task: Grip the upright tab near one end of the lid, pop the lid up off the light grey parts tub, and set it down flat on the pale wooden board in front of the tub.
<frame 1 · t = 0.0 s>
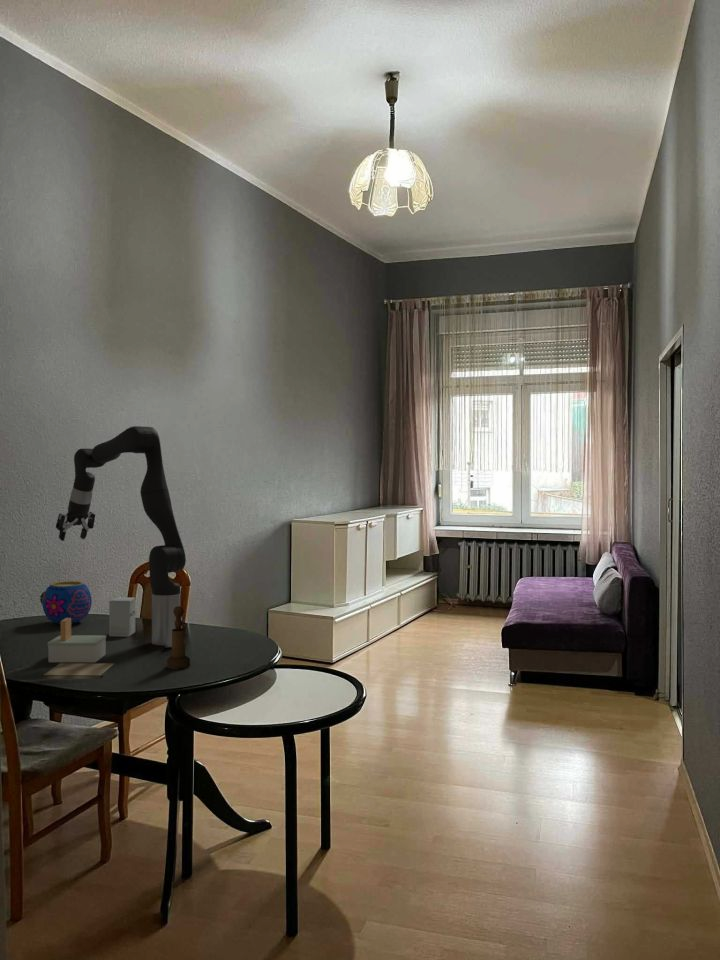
hand: (72, 539, 306), 31 cm above the table, tool tilted 20°, fingers open, 8 cm apart
part a: (87, 658, 248), point 1 cm above the table, touching tub
part b: (67, 658, 248), point 1 cm above the table, touching tub
supplement box: (122, 635, 286), on the table
tub: (77, 661, 248), on the table
lid: (77, 641, 248), point 6 cm above the table, touching tub
ceramic pot: (67, 623, 305), on the table
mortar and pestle: (178, 667, 242), on the table
board: (79, 672, 235), on the table
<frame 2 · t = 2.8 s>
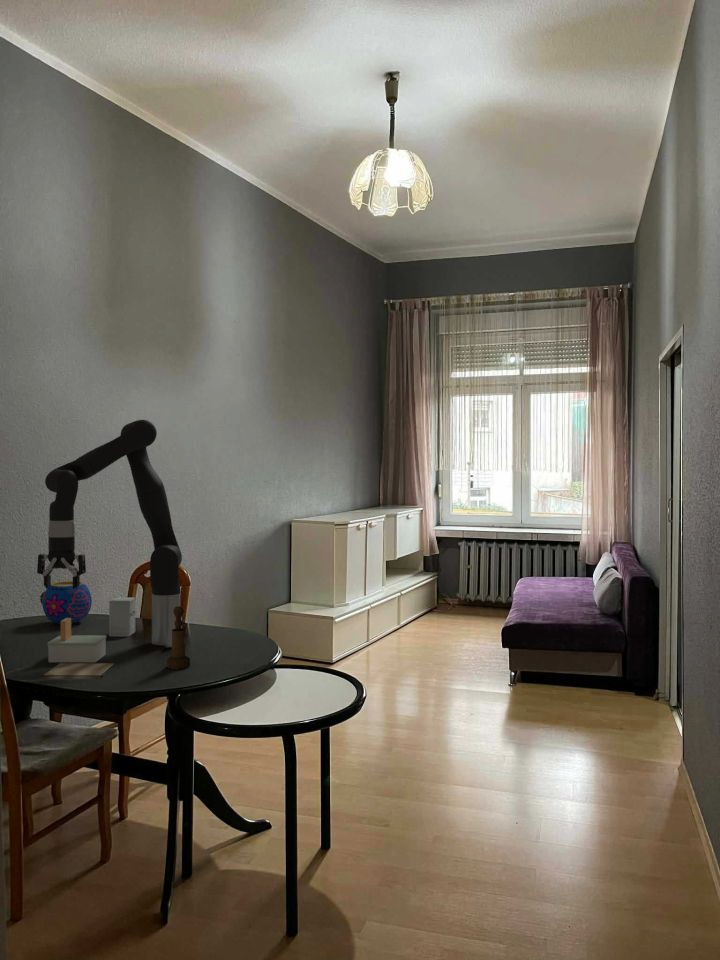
hand: (61, 588, 248), 22 cm above the table, tool pointing down, fingers open, 8 cm apart
nothing on the table moved.
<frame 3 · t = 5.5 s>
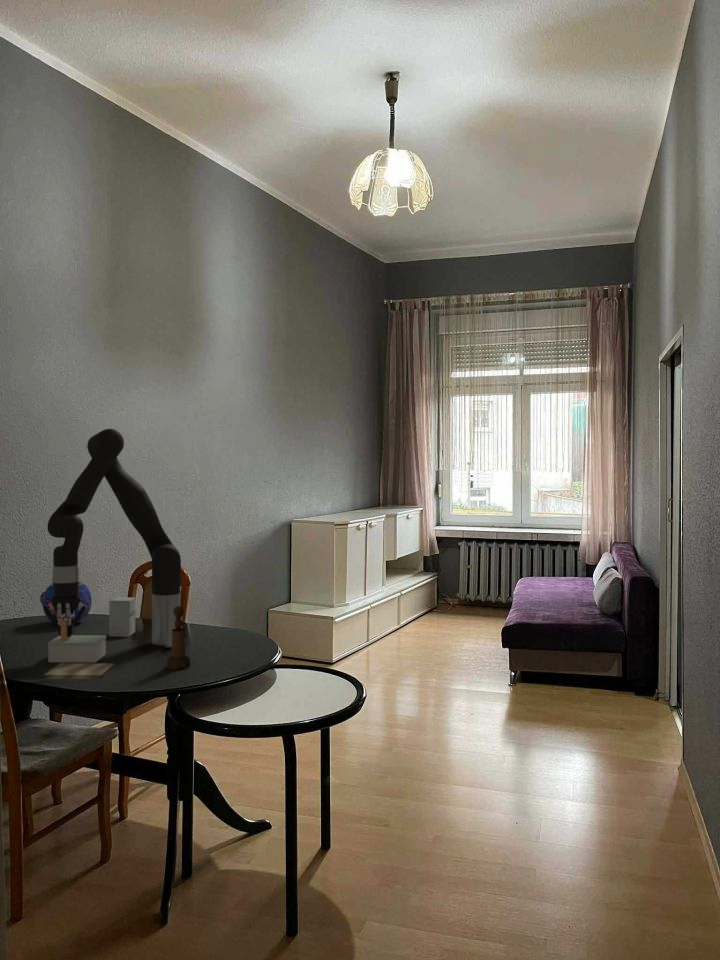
hand: (65, 636, 248), 8 cm above the table, tool pointing down, fingers closed on lid
lid: (77, 641, 248), point 6 cm above the table, touching gripper
everything else where it was.
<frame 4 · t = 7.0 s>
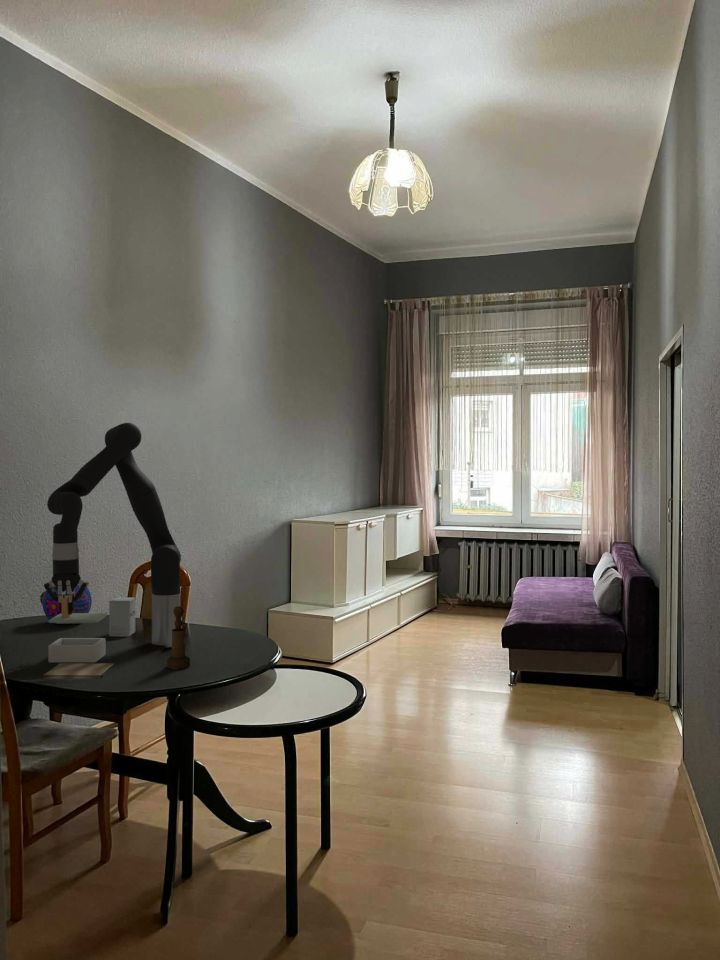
hand: (66, 614, 247), 15 cm above the table, tool pointing down, fingers closed on lid
lid: (78, 619, 248), point 13 cm above the table, touching gripper
everything else where it was.
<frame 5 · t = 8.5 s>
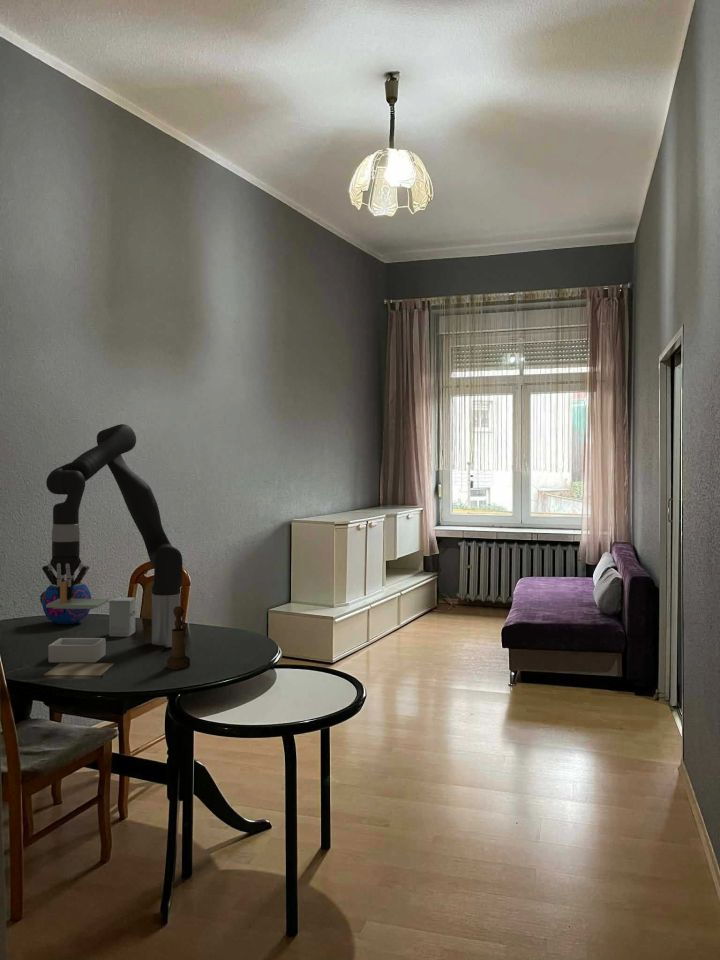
hand: (65, 599, 235), 21 cm above the table, tool pointing down, fingers closed on lid
lid: (77, 604, 235), point 20 cm above the table, touching gripper
everything else where it was.
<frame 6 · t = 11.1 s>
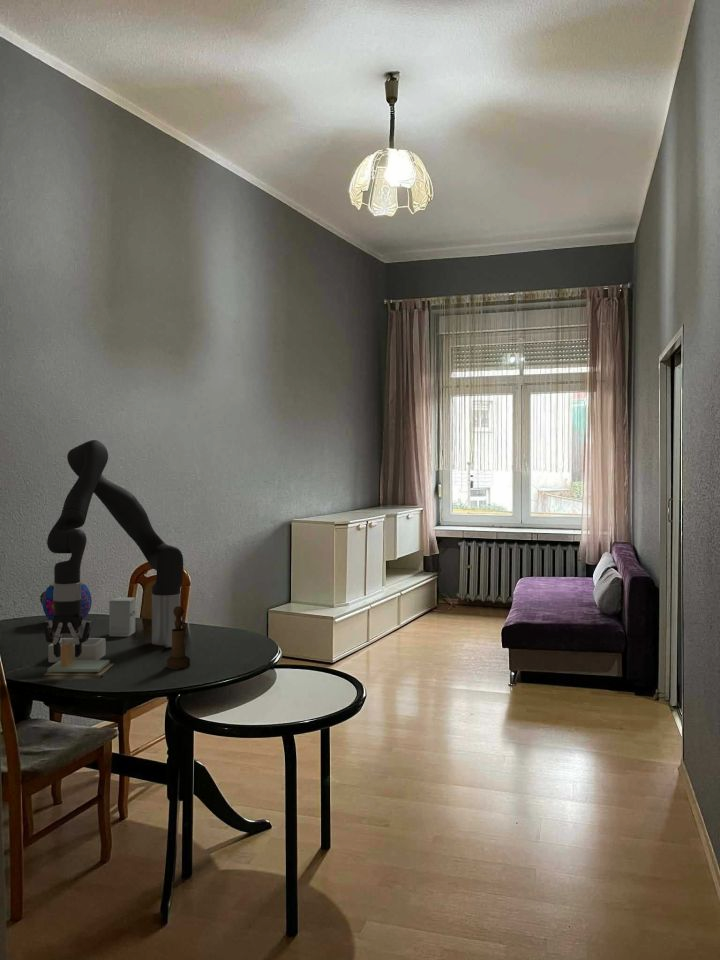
hand: (67, 656, 235), 5 cm above the table, tool pointing down, fingers open, 5 cm apart
lid: (79, 667, 235), point 2 cm above the table, touching board
everything else where it was.
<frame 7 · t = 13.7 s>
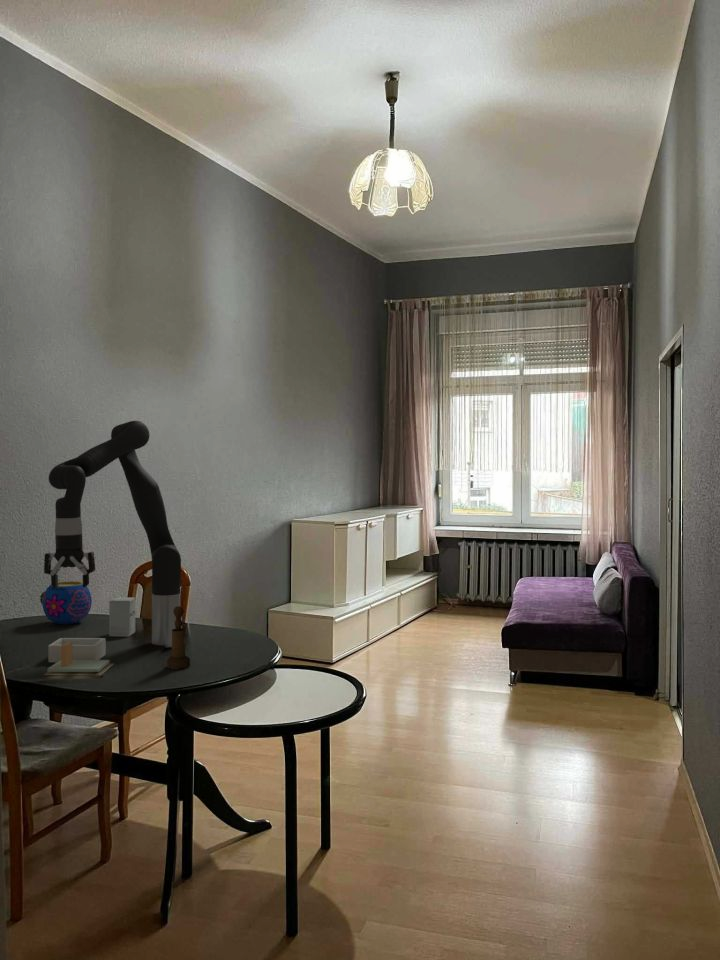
hand: (70, 587, 241), 24 cm above the table, tool pointing down, fingers open, 8 cm apart
nothing on the table moved.
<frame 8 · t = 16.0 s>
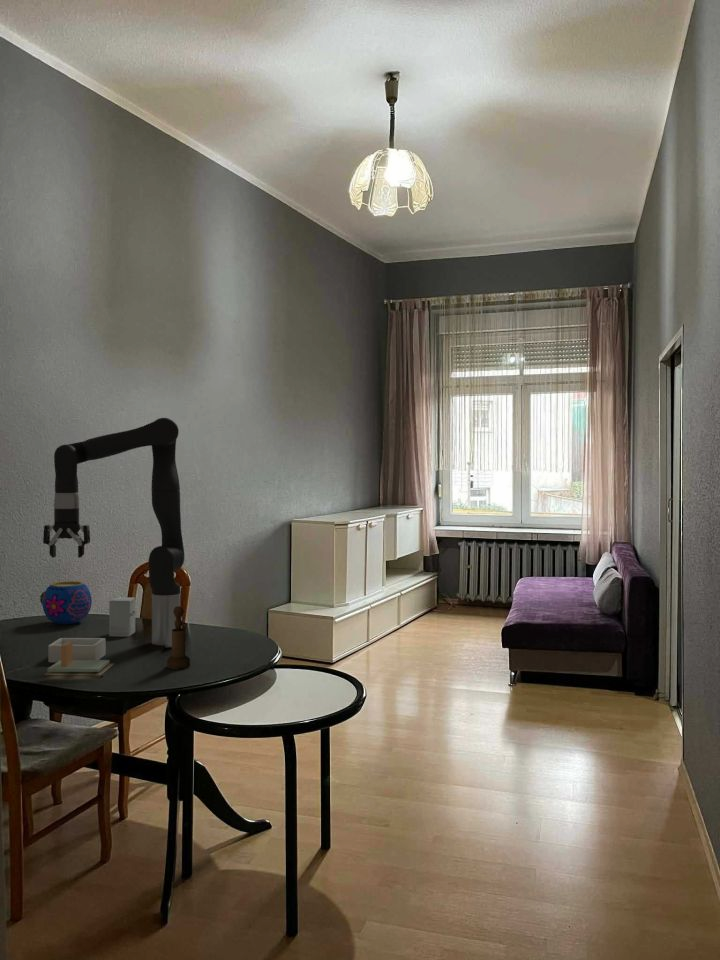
hand: (66, 557, 261), 30 cm above the table, tool pointing down, fingers open, 8 cm apart
nothing on the table moved.
at the end: lid inside the target area on the board (0.2 cm from its centre), point 1.6 cm above the board's base; lid tilted 0°; the gripper is holding nothing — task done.
